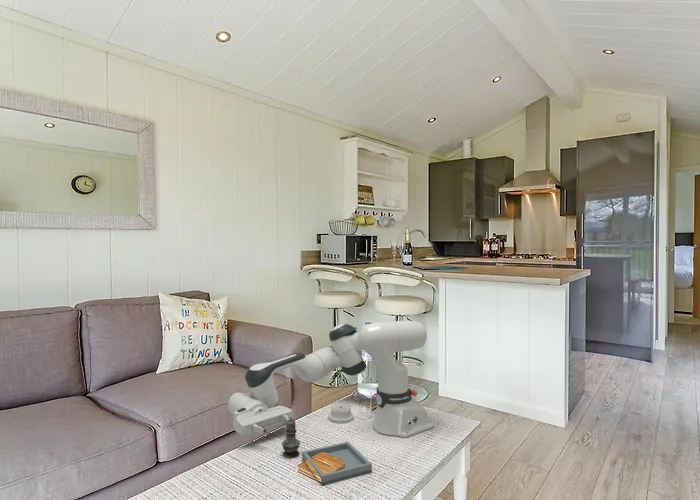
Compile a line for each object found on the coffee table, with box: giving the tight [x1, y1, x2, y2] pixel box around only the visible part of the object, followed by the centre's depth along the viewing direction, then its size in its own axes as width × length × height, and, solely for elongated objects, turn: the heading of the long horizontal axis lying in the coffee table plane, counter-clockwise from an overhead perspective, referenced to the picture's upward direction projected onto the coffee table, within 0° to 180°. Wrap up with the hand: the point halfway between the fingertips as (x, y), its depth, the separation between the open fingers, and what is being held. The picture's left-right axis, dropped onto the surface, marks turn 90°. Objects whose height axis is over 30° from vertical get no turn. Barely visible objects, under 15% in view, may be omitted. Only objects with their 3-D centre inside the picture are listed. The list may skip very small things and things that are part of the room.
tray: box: [301, 441, 373, 486], centre depth 135 cm, size 16×16×2 cm
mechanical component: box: [327, 403, 355, 424], centre depth 171 cm, size 10×4×10 cm
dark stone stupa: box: [281, 417, 301, 459], centre depth 142 cm, size 6×6×12 cm
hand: (276, 427), depth 148 cm, fingers open, 8 cm apart
